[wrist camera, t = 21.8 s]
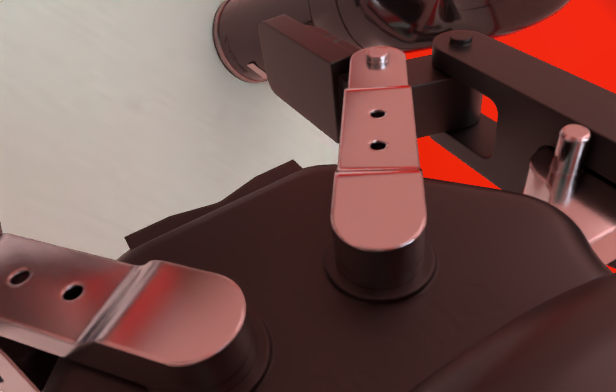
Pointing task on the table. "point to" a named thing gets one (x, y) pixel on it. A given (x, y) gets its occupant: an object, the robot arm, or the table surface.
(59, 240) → the table surface
